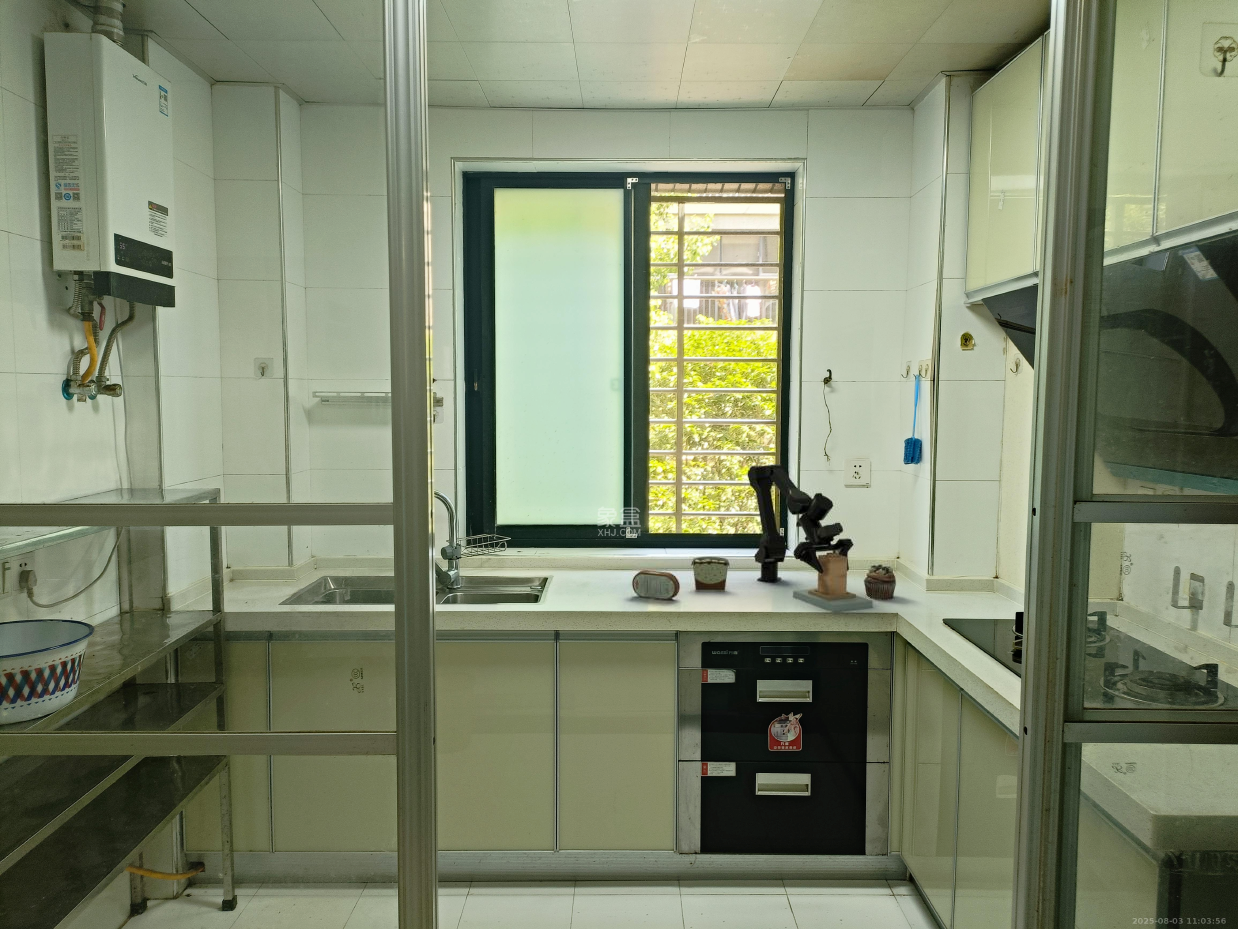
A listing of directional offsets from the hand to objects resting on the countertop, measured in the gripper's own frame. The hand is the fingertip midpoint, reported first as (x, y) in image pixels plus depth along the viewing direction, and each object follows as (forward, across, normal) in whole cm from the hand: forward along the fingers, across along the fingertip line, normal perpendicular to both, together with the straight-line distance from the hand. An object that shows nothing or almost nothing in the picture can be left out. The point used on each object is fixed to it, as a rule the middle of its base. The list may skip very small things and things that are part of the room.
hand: (835, 571), depth 248 cm
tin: (-12, -47, +26) cm, 55 cm away
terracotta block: (+4, 0, +6) cm, 8 cm away
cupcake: (+6, +18, +8) cm, 21 cm away
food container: (-16, -25, +29) cm, 41 cm away
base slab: (+6, 0, +8) cm, 10 cm away
